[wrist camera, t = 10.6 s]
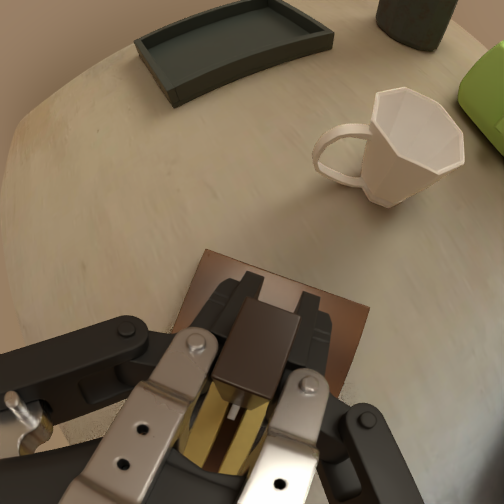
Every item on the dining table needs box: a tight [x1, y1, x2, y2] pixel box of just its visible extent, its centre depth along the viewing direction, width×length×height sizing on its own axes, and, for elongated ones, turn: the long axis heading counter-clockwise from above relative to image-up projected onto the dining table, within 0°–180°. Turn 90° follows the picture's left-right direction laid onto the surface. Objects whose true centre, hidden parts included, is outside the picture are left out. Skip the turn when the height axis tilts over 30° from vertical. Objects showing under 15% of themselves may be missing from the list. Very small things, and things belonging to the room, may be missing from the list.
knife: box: [211, 296, 302, 420], centre depth 12 cm, size 4×2×12 cm, turn 159°
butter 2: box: [218, 402, 269, 475], centre depth 15 cm, size 9×2×4 cm, turn 159°
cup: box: [312, 87, 465, 208], centre depth 18 cm, size 7×10×8 cm
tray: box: [134, 0, 334, 108], centre depth 27 cm, size 20×14×3 cm
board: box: [171, 249, 370, 473], centre depth 18 cm, size 18×12×1 cm, turn 159°
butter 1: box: [183, 382, 231, 468], centre depth 16 cm, size 9×2×4 cm, turn 159°
